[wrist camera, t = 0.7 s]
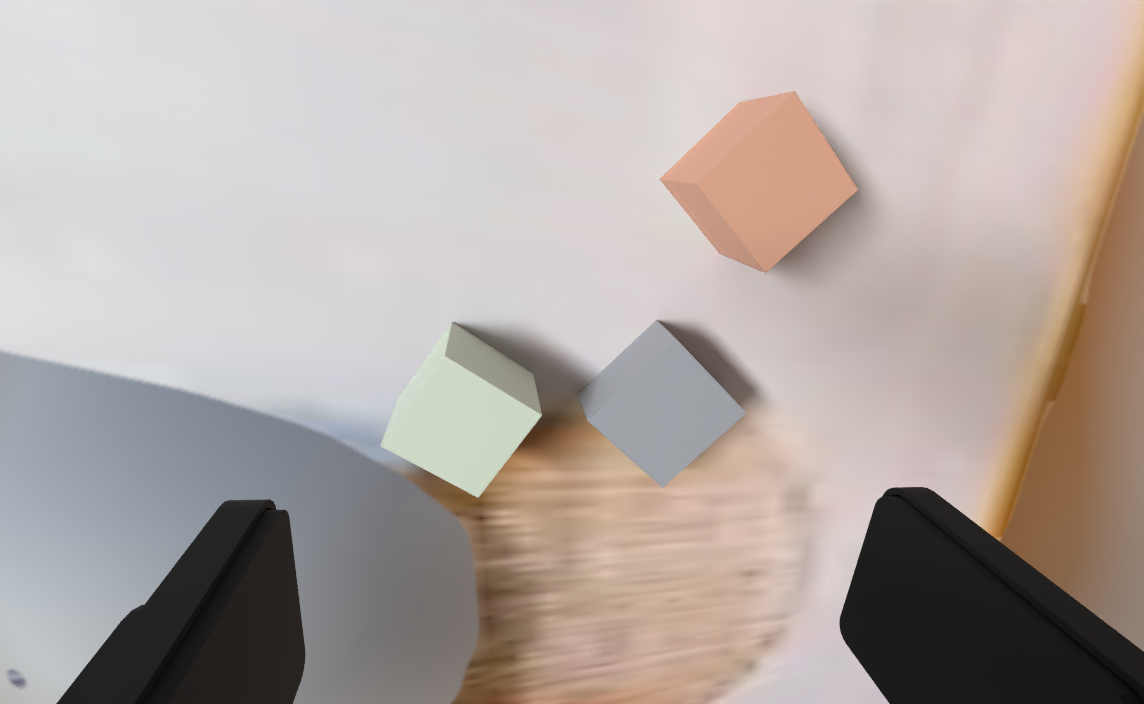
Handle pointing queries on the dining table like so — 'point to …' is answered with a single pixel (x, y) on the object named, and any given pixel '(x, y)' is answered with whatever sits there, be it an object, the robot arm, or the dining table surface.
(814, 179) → the terracotta cube
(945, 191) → the dining table surface
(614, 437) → the slate-grey block
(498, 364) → the sage cube
